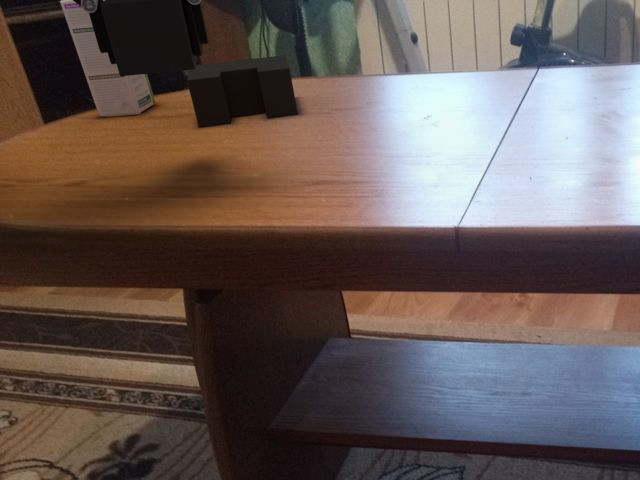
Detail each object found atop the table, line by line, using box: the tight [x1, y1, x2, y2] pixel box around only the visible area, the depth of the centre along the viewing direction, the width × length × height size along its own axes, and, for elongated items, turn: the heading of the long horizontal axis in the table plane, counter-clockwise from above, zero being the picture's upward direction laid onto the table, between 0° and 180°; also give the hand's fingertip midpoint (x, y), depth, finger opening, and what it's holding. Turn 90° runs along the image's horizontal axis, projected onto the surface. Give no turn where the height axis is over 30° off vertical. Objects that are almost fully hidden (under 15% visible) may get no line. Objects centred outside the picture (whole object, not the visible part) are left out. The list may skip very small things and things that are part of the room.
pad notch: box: [186, 54, 299, 128], centre depth 93 cm, size 12×10×6 cm
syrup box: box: [59, 0, 157, 117], centre depth 96 cm, size 6×6×14 cm
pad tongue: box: [100, 0, 199, 76], centre depth 65 cm, size 6×13×6 cm, turn 15°
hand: (158, 55), depth 63 cm, fingers closed on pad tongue, 6 cm apart
